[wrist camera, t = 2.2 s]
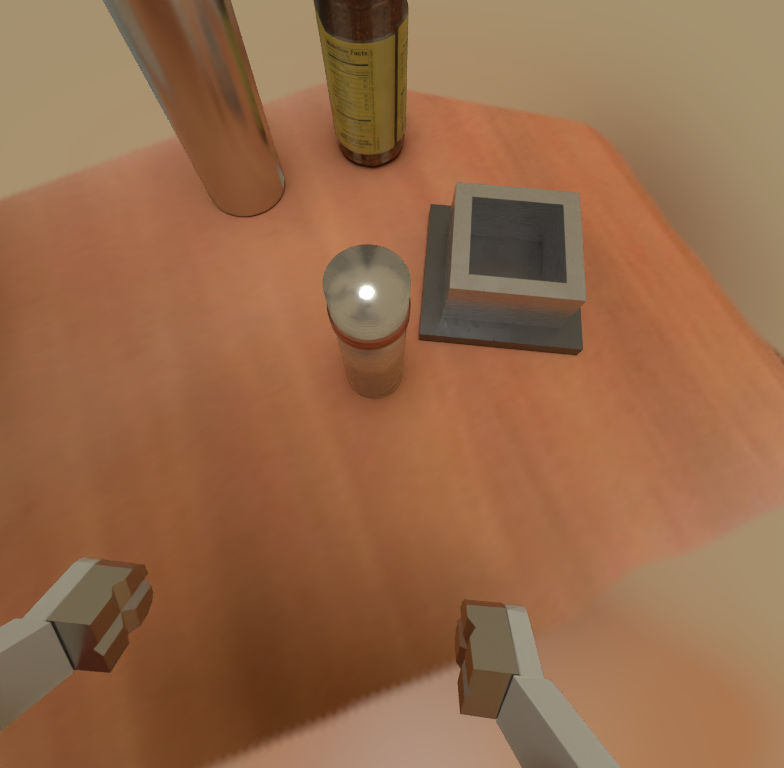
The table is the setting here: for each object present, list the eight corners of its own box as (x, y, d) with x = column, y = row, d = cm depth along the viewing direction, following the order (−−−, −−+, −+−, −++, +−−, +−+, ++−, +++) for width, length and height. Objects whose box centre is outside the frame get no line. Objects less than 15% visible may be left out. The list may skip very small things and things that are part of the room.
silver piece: (235, 149, 36) (-51, -548, 13) (298, 173, 35) (120, -524, 12) (195, 201, 34) (-232, -507, 11) (261, 227, 34) (-42, -474, 10)
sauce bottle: (371, 109, 38) (356, -291, 19) (418, 145, 37) (453, -249, 18) (320, 145, 36) (249, -252, 18) (367, 184, 35) (345, -201, 16)
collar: (418, 339, 30) (424, 306, 26) (429, 212, 34) (436, 163, 29) (576, 354, 30) (612, 324, 25) (570, 225, 34) (599, 178, 29)
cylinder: (342, 396, 29) (313, 318, 18) (350, 344, 30) (328, 238, 19) (400, 402, 29) (408, 326, 17) (405, 349, 30) (416, 246, 19)
